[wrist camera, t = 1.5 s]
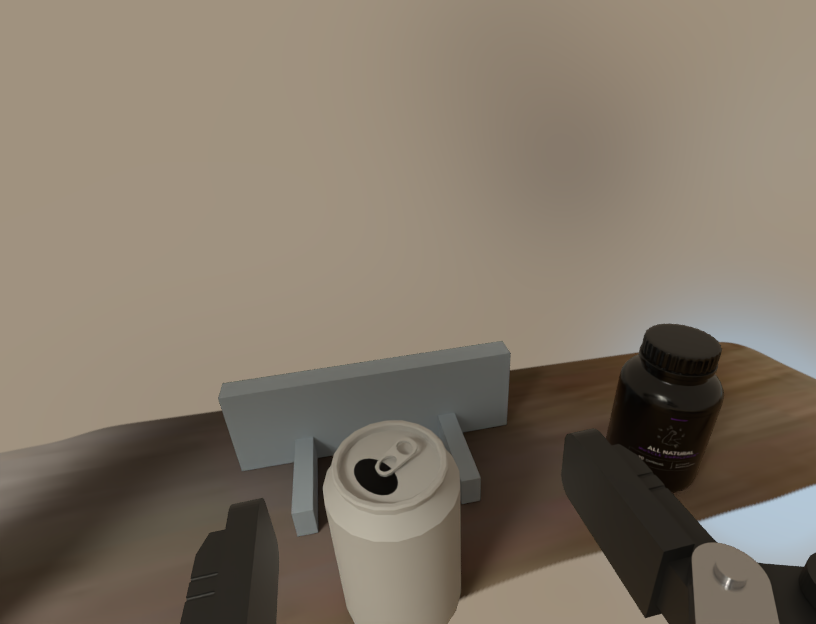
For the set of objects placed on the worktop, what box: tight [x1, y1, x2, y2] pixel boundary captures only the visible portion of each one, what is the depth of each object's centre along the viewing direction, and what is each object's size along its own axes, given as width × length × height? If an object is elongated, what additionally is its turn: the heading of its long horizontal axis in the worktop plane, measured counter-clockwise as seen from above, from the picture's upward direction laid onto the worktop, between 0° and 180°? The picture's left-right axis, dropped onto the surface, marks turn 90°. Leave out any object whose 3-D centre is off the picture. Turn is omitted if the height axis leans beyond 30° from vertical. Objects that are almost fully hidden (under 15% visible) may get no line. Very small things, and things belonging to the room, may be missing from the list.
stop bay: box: [218, 341, 511, 536], centre depth 37 cm, size 24×10×8 cm, turn 100°
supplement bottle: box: [606, 324, 724, 493], centre depth 35 cm, size 7×7×12 cm
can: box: [323, 420, 461, 624], centre depth 27 cm, size 8×8×12 cm
